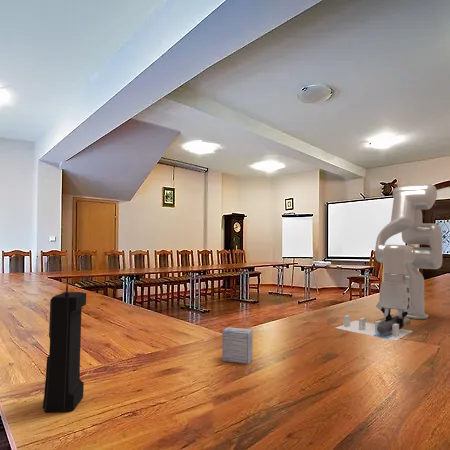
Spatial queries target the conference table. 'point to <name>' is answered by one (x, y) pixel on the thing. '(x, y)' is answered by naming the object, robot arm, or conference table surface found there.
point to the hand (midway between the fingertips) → (394, 327)
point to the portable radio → (64, 353)
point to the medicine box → (237, 345)
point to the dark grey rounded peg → (386, 326)
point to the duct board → (372, 328)
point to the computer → (406, 320)
